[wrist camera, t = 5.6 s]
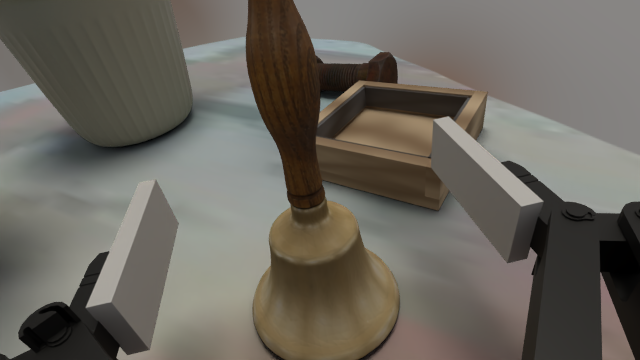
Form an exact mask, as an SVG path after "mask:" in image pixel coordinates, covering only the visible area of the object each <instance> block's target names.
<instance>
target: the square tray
mask: <svg viewBox="0 0 640 360" xmlns="http://www.w3.org/2000/svg"><path fill="white" fill-rule="evenodd" d="M487 93H488V92H482V91H472V90H461V89H450V88H438V87H427V86H416V85H405V84H394V83H382V82H371V81H360V80H359V81H358V82H357V83H355V84H354V85H353V86H352V87H351V88H349V89H348V90H347V91H346V92H344V93H343V94H342V95H341V96H339V97H338V98H337V99H336V100H335V101H333V102H332V103H331V104H330V105H328V106H327V107H326V108H325V109H323V110H322V111H321V112H320V113H319V121H318V127H317V133H316V152H317V159H318V163H319V168H320V173H321V178H322V180H324V181H328V182H332V183H336V184H339V185H343V186H347V187H351V188H354V189H358V190H362V191H366V192H370V193H373V194H377V195H381V196H385V197H388V198H392V199H396V200H400V201H403V202H407V203H411V204H415V205H419V206H422V207H426V208H430V209H434V210H437V211H439V209H440V207H441V205H442V203H443V201H444V200H445V198H446V196H447V194H448V192H449V189H448V188H447V187H446V186H445V184H444V183H443V182H442V181H441V179H440V178H439V177H438V176H437V174H436V173H435V172H434V171H433V169H432V168H431V155H432V134H433V120H434V119H439V118H443V117H448V116H449V117H450V118H451V119H452V120H453V121H454V122H455V123H457V124H458V125H459V126H460V127H461V128H462V129H463V130H464V131H466V132H467V133H468V134H469V135H470V136H471V137H472V138H473V139H474V140H476V139H477V138H478V136H479V134H480V132H481V130H482V128H483V122H484V115H485V108H486V101H487Z"/></svg>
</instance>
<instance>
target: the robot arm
mask: <svg viewBox="0 0 640 360" xmlns="http://www.w3.org/2000/svg"><path fill="white" fill-rule="evenodd" d="M431 168H432V169H433V171H434V172H435V173H436V174H437V176H438V177H439V178H440V179H441V181H442V182H443V183H444V184H445V186H446V187H447V188H448V189H449V191H450V192H451V193H452V195H453V196H454V197H455V198H456V200H457V201H458V202H459V203H460V205H461V206H462V207H463V208H464V210H465V211H466V212H467V213H468V215H469V216H470V217H471V218H472V220H473V221H474V222H475V223H476V225H477V226H478V227H479V228H480V230H481V231H482V232H483V233H484V235H485V236H486V237H487V238H488V240H489V241H490V242H491V243H492V245H493V246H494V247H495V248H496V250H497V251H498V252H499V253H500V255H501V256H502V257H503V258H504V260H505V261H506V262H507V263H511V262H515V261H519V260H523V259H527V257H528V253H529V250H530V247H531V248H532V249H533V250H534V251H535V252H536V254H537V258H536V262H535V265H534V268H533V271H532V274H531V275H534V276H533V283H532V290H531V297H530V304H529V311H528V318H527V325H526V332H525V339H524V346H523V353H522V360H602V335H601V289H600V272H601V273H602V276H603V279H604V281H605V284H606V286H607V289H608V291H609V294H610V296H611V299H612V302H613V304H614V307H615V309H616V312H617V314H618V317H619V319H620V322H621V324H622V327H623V330H624V332H625V335H626V337H627V340H628V342H629V345H630V347H631V350H632V352H633V355H634V358H635V360H640V202H631V203H628V204H626V205H625V206H624V207H623V209H622V211H621V213H620V214H610V213H595V212H594V211H593V210H592V209H591V208H589V207H587V206H585V205H582V204H579V203H575V202H564V201H563V200H562V199H561V198H559V197H558V196H557V195H556V194H555V193H553V192H552V191H551V190H550V189H549V188H547V187H546V186H545V185H544V184H543V183H542V182H540V181H538V179H537V178H536V177H534V176H533V175H531V173H530V172H528V171H527V170H526V169H525V168H524V167H522V166H520V165H518V164H516V163H514V162H511V161H506V162H501V163H500V162H499V161H498V160H497V159H496V158H495V157H493V156H492V155H491V154H490V153H489V152H488V151H487V150H486V149H485V148H483V147H482V146H481V145H480V144H479V143H478V142H477V141H476V140H474V139H473V138H472V137H471V136H470V135H469V134H468V133H467V132H466V131H464V130H463V129H462V128H461V127H460V126H459V125H458V124H457V123H455V122H454V121H453V120H452V119H451V118H450V117H449V116H448V117H443V118H439V119H434V120H433V134H432V155H431ZM178 224H179V223H178V221H177V219H176V218H175V216H174V214H173V212H172V210H171V208H170V206H169V204H168V202H167V200H166V198H165V196H164V194H163V192H162V190H161V188H160V186H159V184H158V182H157V180H156V179H155V180H150V181H145V182H141V183H139V184H138V186H137V188H136V191H135V193H134V195H133V198H132V200H131V203H130V205H129V207H128V210H127V212H126V214H125V217H124V219H123V221H122V224H121V226H120V228H119V231H118V233H117V235H116V238H115V240H114V242H113V245H112V247H111V249H110V251H108V252H104V253H100V254H98V256H97V257H96V258H95V259H94V260H93V261H92V262H91V263H90V264H89V266H88V268H87V271H86V273H85V275H84V278H83V279H82V281H81V283H80V285H79V286H80V288H78V290H77V292H76V294H75V296H74V298H73V300H72V302H71V305H70V307H68V306H67V305H66V304H65V303H63V302H54V303H50V304H47V305H45V306H43V307H41V308H40V309H38V310H36V311H35V312H34V313H33V314H31V315H30V316H29V317H28V318H27V319H26V320H25V322H24V323H23V324H22V326H21V328H20V330H19V332H18V334H19V339H20V340H21V341H22V342H23V343H25V344H26V345H27V346H28V347H29V348H30V349H31V350H29V351H27V352H25V353H23V354H20V355H18V356H16V357H14V358H12V359H9V358H8V357H6V356H5V355H3V354H0V360H118V359H117V358H116V357H117V353H118V350H119V347H121V348H122V350H123V351H124V352H125V353H126V354H127V355H130V354H134V353H138V352H142V351H147V350H150V346H151V342H152V338H153V333H154V329H155V324H156V320H157V316H158V311H159V307H160V303H161V298H162V294H163V290H164V285H165V281H166V276H167V272H168V268H169V263H170V259H171V255H172V250H173V246H174V242H175V237H176V233H177V228H178Z"/></svg>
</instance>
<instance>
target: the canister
mask: <svg viewBox="0 0 640 360" xmlns="http://www.w3.org/2000/svg"><path fill="white" fill-rule="evenodd" d="M0 39H1V40H2V42H3V43H4V44H5V45H6V47H7V48H8V49H9V50H10V52H11V53H12V54H13V55H14V57H15V58H16V59H17V60H18V62H19V63H20V64H21V66H22V67H23V68H24V69H25V71H26V72H27V73H28V74H29V76H30V77H31V78H32V80H33V81H34V82H35V83H36V85H37V86H38V87H39V88H40V90H41V91H42V92H43V93H44V95H45V96H46V97H47V98H48V100H49V101H50V102H51V103H52V104H53V106H54V107H55V108H56V109H57V111H58V112H59V113H60V114H61V115H62V117H63V118H64V119H65V120H66V121H67V123H68V124H69V125H70V126H71V127H72V128H73V129H74V130H75V131H76V132H77V133H78V134H79V135H80V136H81V137H83V138H84V139H85V140H87V141H88V142H90V143H93V144H96V145H99V146H105V147H118V146H120V147H121V146H126V145H132V144H137V143H140V142H144V141H147V140H149V139H153V138H155V137H157V136H160V135H162V134H164V133H166V132H168V131H169V130H171V129H173V128H175V127H176V126H178V125H179V124H180V123H181V122H183V121H184V120H185V118H186V117H187V116H188V114H189V113H190V111H191V107H192V102H193V96H192V89H191V84H190V80H189V75H188V71H187V66H186V62H185V57H184V53H183V49H182V45H181V41H180V37H179V33H178V29H177V25H176V21H175V17H174V14H173V9H172V5H171V1H170V0H0Z"/></svg>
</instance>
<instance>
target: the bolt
mask: <svg viewBox="0 0 640 360" xmlns="http://www.w3.org/2000/svg"><path fill="white" fill-rule="evenodd" d="M316 60H317V67H318V74H319V83H320V92H321V91H322V90H325V91H326V90H327V91H339V92H340V91H341V92H346V91H347V90H348V89H349V88H351V87H352V86H353V85H354V84H355V83H357V82H358V81H359V80H360V81H371V82H382V83H394V84H397V80H398V71H397V63H396V60H395V58H394V57H393V56H392V55H391V53H389V52H380V53H379V54H378V55H376V56H375V57H374V58H373V59H371V60H370V61H369V63H363V64H336V63H335V64H324V63H323V62H322V61H321V59H320V58H318V57H317V56H316Z"/></svg>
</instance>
